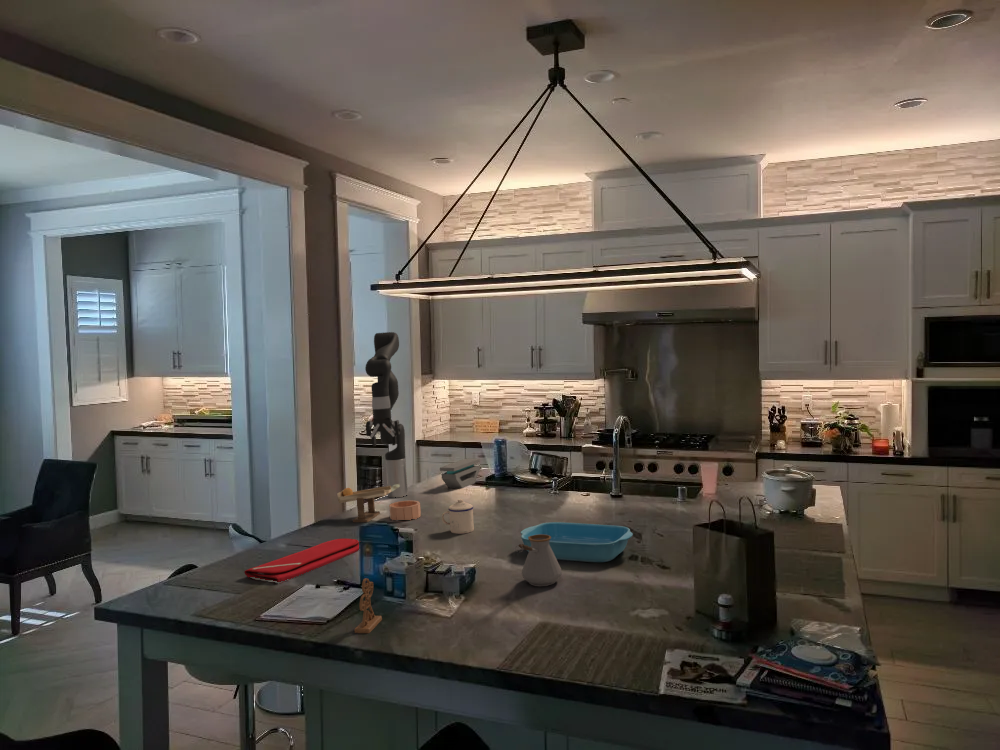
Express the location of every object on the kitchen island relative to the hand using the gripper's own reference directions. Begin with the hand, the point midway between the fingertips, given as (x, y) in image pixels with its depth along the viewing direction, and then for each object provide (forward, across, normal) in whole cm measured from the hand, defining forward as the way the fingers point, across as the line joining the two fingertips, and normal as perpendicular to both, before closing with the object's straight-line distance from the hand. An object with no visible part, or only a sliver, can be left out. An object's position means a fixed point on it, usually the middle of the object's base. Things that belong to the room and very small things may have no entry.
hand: (384, 445), depth 312 cm
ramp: (+19, +5, +8) cm, 21 cm away
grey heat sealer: (+29, -19, -49) cm, 60 cm away
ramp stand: (+27, +5, +13) cm, 31 cm away
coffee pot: (+26, -78, +94) cm, 125 cm away
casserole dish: (+27, -86, +61) cm, 108 cm away
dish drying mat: (+27, +1, +71) cm, 76 cm away
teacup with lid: (+27, -40, +34) cm, 59 cm away
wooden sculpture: (+25, -40, +123) cm, 132 cm away
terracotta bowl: (+27, -12, +13) cm, 33 cm away
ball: (+17, +12, +13) cm, 25 cm away
